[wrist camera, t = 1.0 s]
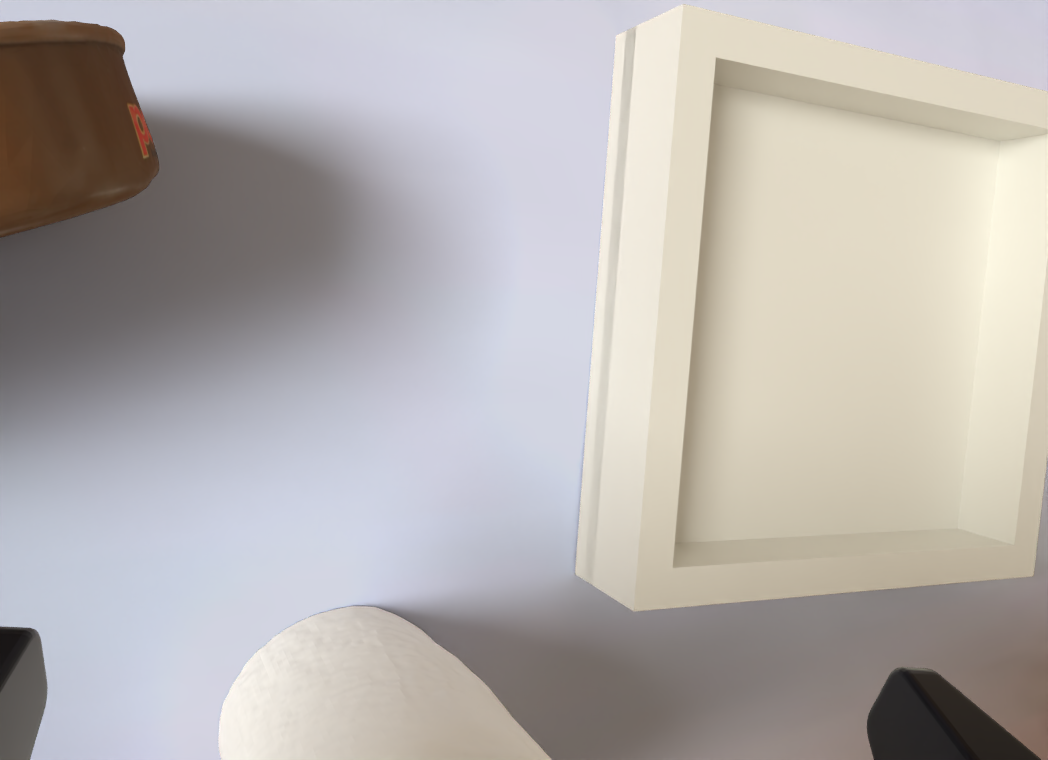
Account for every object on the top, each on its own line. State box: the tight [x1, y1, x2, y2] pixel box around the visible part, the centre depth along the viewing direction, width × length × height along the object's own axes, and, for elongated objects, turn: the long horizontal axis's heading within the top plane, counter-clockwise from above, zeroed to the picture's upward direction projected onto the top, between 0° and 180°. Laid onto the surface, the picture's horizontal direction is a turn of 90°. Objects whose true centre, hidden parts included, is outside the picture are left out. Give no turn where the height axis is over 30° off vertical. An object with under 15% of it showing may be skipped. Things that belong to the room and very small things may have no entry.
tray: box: [575, 4, 1048, 611], centre depth 25 cm, size 14×14×3 cm
